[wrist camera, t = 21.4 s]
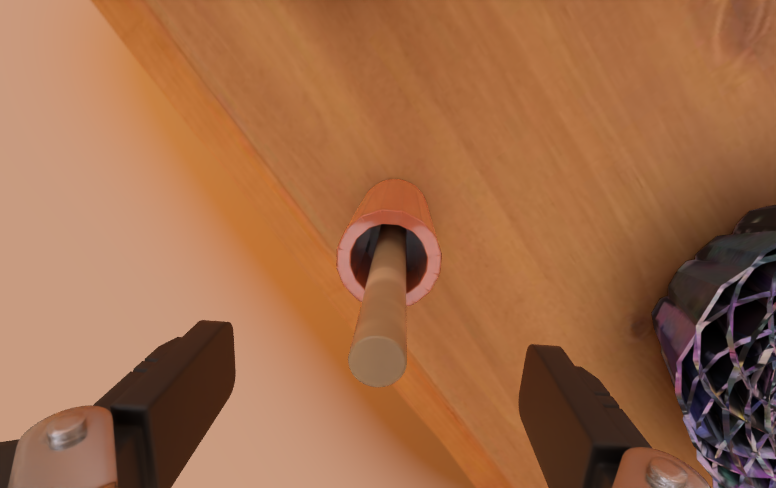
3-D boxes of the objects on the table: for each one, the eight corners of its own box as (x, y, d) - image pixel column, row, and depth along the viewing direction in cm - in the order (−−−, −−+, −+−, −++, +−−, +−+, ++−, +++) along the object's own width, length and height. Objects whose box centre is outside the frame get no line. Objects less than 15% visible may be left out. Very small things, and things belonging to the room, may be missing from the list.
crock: (360, 240, 31) (335, 306, 20) (363, 176, 30) (337, 206, 18) (424, 245, 31) (436, 313, 20) (430, 180, 30) (446, 213, 18)
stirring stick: (383, 223, 30) (346, 386, 11) (384, 202, 30) (348, 334, 11) (404, 224, 30) (404, 390, 11) (406, 203, 30) (409, 338, 11)
